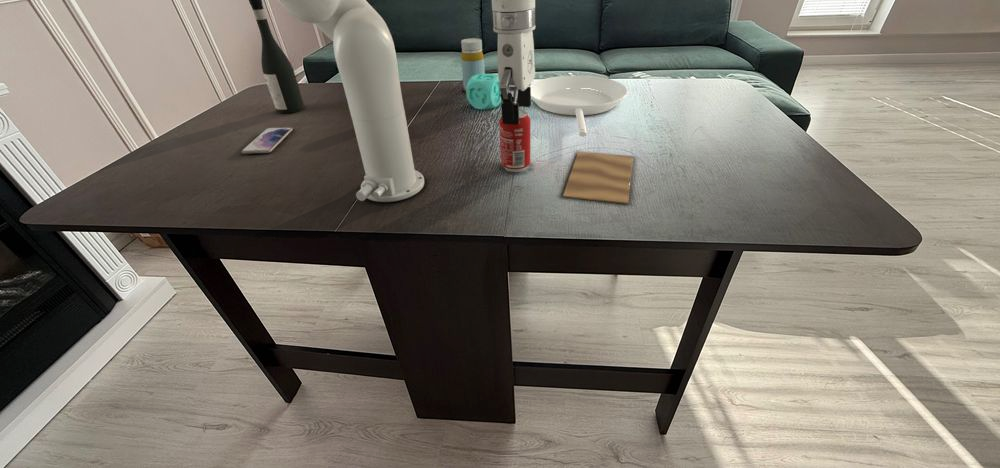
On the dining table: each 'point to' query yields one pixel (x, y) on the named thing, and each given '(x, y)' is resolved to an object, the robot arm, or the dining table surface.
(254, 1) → the wine bottle
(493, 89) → the decorative dice
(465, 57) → the bottle
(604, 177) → the wooden trivet
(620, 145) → the dining table surface
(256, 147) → the smartphone
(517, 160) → the beverage can
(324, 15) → the robot arm
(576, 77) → the pan
